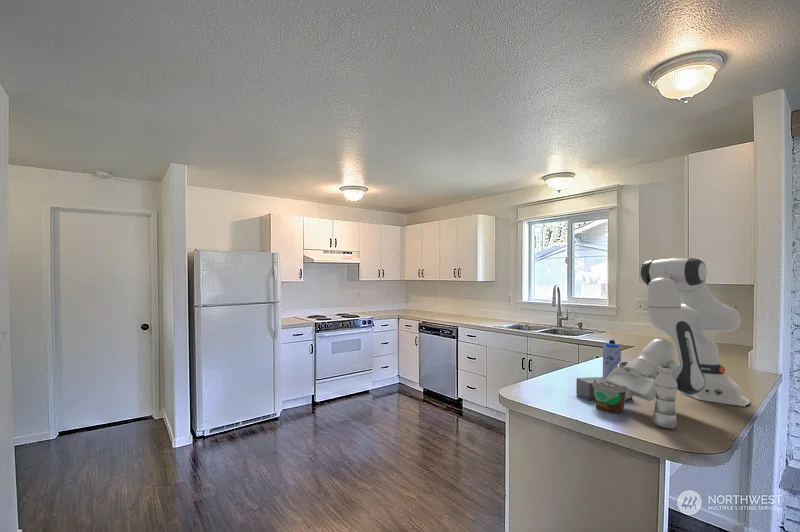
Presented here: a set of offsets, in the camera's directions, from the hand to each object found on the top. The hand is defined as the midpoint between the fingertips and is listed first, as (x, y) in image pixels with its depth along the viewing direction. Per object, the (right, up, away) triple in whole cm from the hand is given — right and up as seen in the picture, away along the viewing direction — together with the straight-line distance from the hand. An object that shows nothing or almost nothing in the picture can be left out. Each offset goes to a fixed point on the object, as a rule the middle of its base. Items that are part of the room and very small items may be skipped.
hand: (618, 399), depth 146 cm
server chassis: (+3, -4, +16) cm, 17 cm away
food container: (-5, -4, 0) cm, 6 cm away
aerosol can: (+18, -5, +38) cm, 42 cm away
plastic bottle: (+7, -4, -15) cm, 17 cm away
